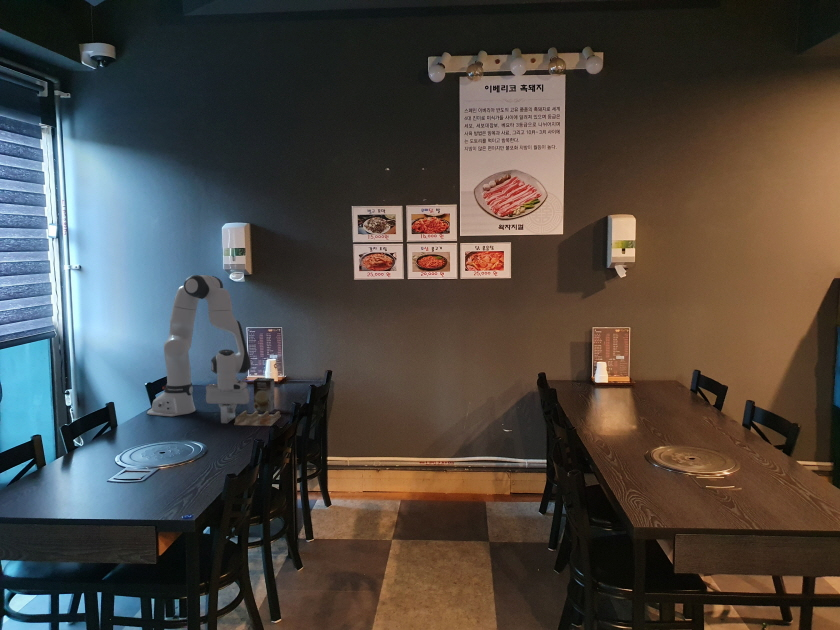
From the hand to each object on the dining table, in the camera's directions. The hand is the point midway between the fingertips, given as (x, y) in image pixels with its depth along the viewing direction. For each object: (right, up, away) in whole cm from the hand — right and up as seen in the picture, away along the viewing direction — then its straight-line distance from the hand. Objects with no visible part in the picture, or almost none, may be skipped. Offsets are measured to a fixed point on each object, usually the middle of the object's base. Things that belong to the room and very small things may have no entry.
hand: (228, 412), depth 283 cm
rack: (+15, -4, -1) cm, 15 cm away
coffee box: (+13, -2, +18) cm, 22 cm away
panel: (0, -4, 0) cm, 4 cm away
